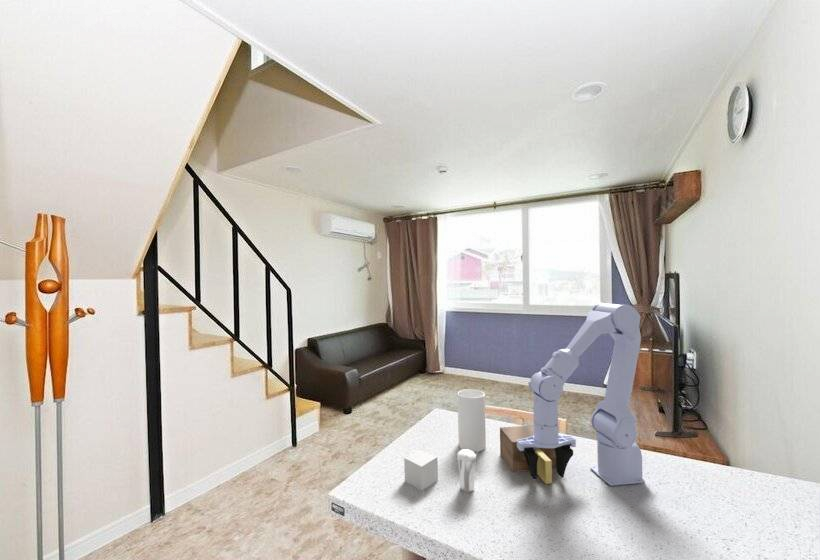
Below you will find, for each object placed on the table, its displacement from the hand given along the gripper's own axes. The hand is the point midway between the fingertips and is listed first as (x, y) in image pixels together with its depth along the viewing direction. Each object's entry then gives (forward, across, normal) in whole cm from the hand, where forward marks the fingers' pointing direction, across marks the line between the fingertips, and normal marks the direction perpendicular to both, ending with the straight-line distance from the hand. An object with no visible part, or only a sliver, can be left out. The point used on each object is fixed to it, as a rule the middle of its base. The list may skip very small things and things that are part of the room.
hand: (546, 476), depth 86 cm
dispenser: (+1, 0, -10) cm, 10 cm away
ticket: (+1, 0, -6) cm, 6 cm away
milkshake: (+2, +20, 0) cm, 20 cm away
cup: (+2, +13, -21) cm, 25 cm away
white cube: (+2, +31, -5) cm, 31 cm away
